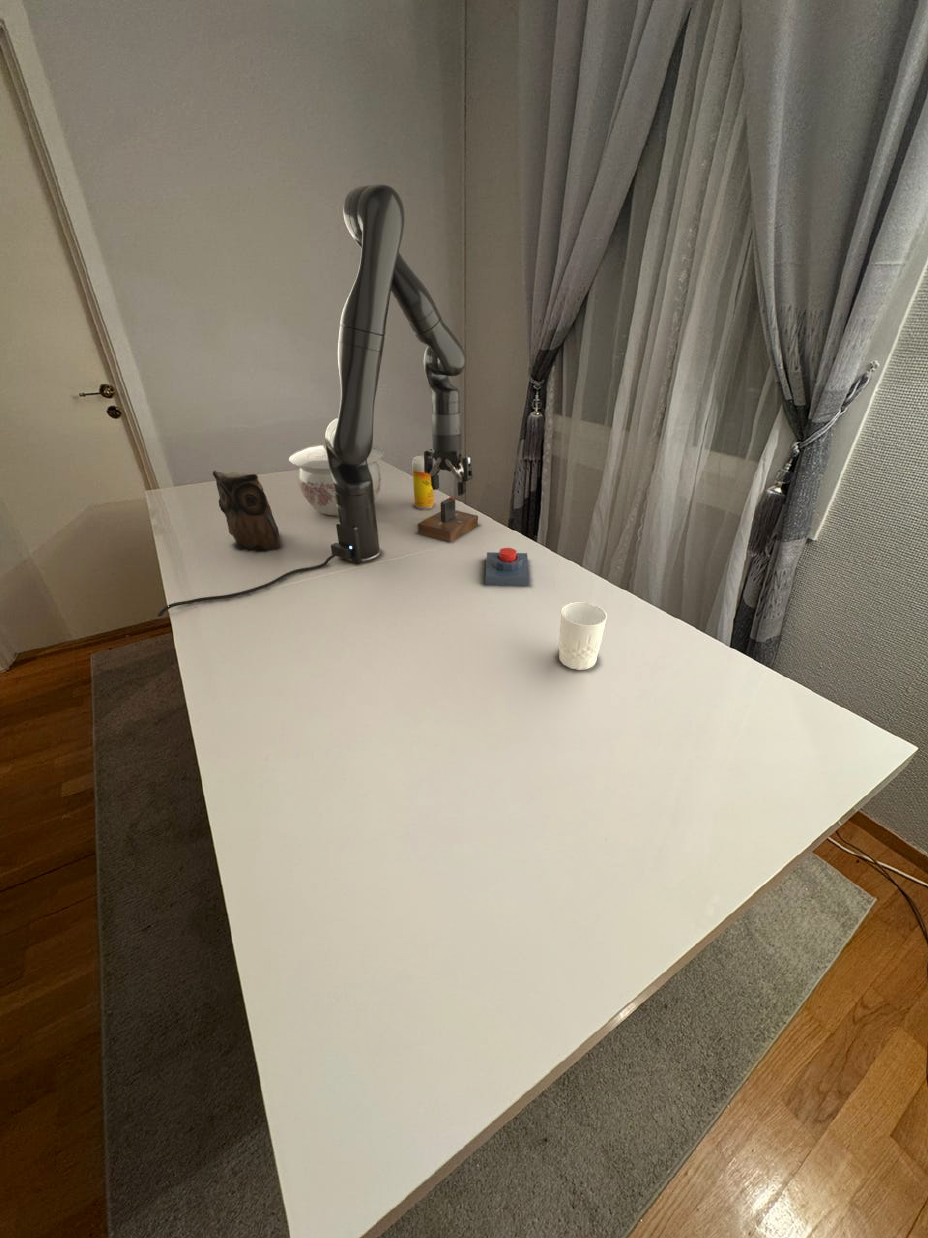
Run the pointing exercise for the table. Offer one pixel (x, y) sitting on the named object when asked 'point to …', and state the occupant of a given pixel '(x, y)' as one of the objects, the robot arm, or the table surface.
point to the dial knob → (448, 509)
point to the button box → (507, 570)
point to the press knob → (507, 554)
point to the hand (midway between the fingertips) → (448, 491)
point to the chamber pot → (326, 476)
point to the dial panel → (448, 526)
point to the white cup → (581, 634)
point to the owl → (247, 511)
